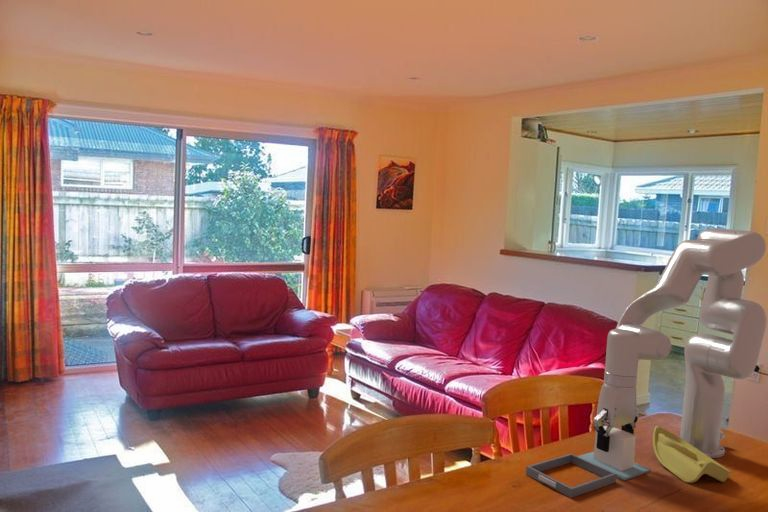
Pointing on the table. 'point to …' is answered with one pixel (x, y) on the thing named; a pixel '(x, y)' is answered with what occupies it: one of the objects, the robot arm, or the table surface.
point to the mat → (623, 474)
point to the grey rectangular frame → (535, 473)
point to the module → (617, 450)
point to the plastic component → (685, 458)
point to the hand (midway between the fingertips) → (614, 446)
